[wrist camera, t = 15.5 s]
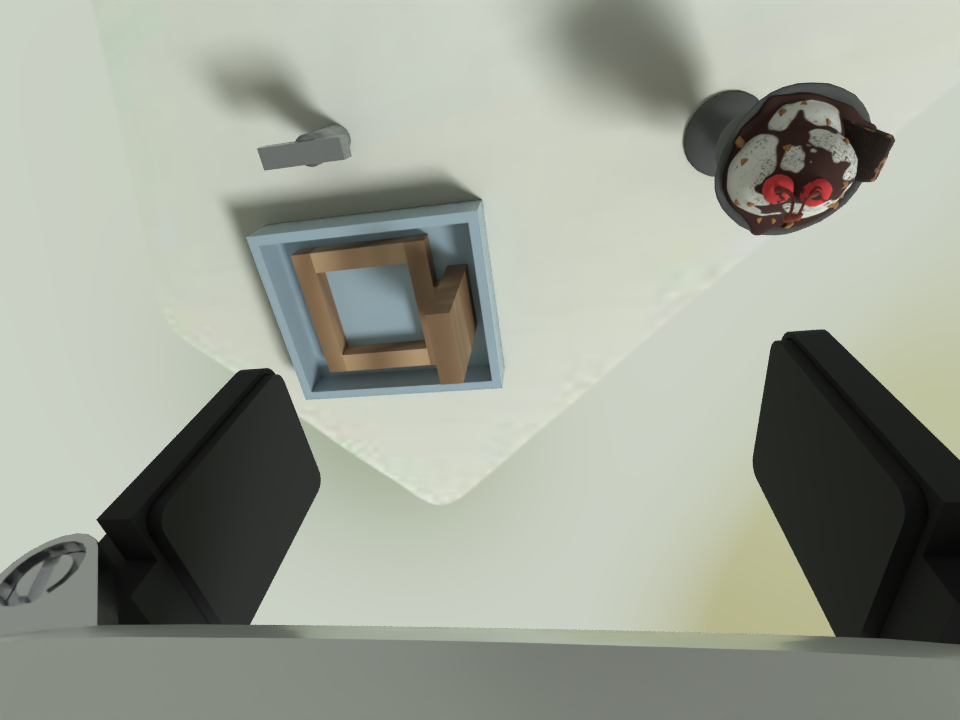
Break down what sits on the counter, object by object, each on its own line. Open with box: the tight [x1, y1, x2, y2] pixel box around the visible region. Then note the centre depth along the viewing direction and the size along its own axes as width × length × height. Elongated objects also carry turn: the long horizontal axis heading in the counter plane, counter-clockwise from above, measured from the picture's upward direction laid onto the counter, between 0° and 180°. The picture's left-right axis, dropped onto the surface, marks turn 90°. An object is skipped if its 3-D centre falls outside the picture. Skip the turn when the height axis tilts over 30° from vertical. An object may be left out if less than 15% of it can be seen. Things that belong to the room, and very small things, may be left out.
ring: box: [291, 234, 477, 385], centre depth 36 cm, size 12×10×8 cm
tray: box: [246, 200, 504, 400], centre depth 39 cm, size 14×16×3 cm
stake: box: [257, 124, 351, 170], centre depth 32 cm, size 2×5×6 cm, turn 98°
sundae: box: [685, 83, 895, 235], centre depth 26 cm, size 7×7×15 cm
